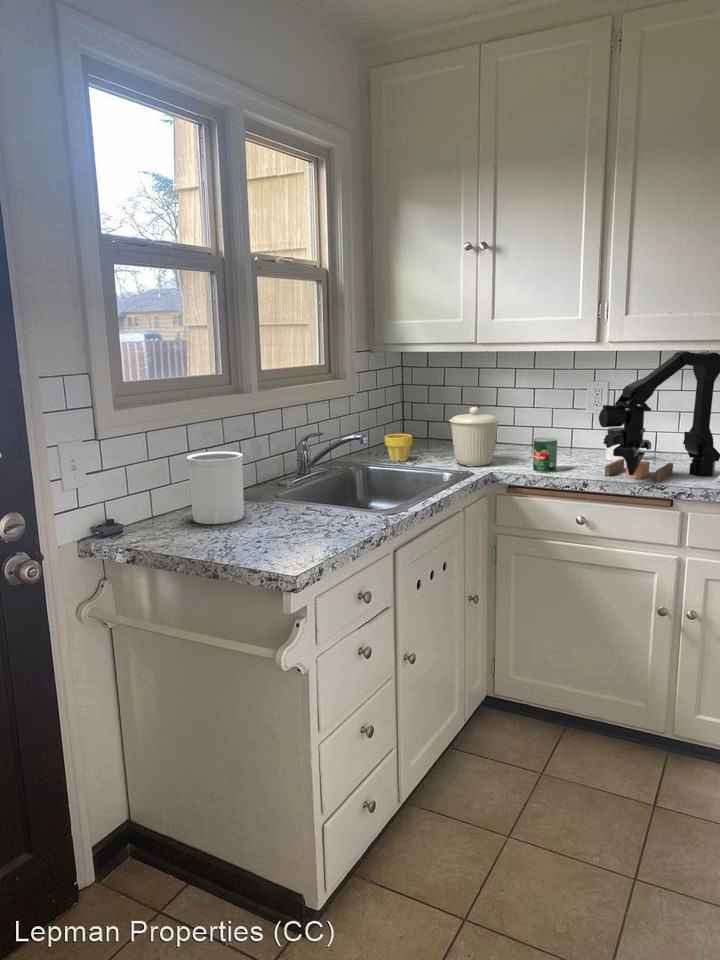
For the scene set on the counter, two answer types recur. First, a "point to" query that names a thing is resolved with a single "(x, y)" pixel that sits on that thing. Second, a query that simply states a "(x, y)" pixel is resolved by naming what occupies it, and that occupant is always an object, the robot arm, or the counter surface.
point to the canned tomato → (545, 455)
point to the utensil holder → (216, 487)
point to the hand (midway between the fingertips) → (631, 475)
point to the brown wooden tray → (619, 466)
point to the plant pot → (398, 446)
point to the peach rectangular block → (639, 470)
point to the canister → (474, 437)
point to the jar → (610, 450)
